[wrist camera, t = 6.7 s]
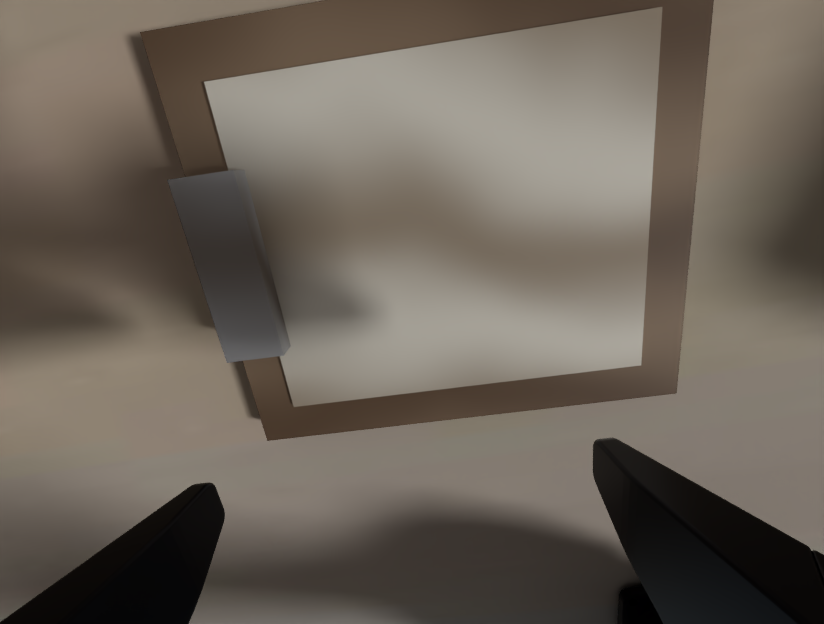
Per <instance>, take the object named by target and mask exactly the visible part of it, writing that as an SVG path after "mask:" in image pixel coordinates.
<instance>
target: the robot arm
mask: <svg viewBox="0 0 824 624" xmlns="http://www.w3.org/2000/svg"><path fill="white" fill-rule="evenodd" d="M593 475H594V479H595V482H596V485H597V487H598V490H599V492H600V494H601V497H602V499H603V501H604V504H605V506H606V508H607V511H608V513H609V516H610V518H611V520H612V523H613V525H614V527H615V530H616V532H617V534H618V537H619V539H620V542H621V544H622V546H623V548H624V550H625V553H626V555H627V557H628V559H629V561H630V563H631V564H632V566H633V568H634V570H635V572H636V574H637V576H638V577H639V579H640V581H641V583H642V585H643V586H638V587H629V588H625V589H623V590H622V591H621V592H620V594H619V604H618V624H824V555H823V554H821V553H819V552H818V551H815V550H813V551H811V549H810V548H809V547H808V546H807V545H805V544H803V543H801V542H799V541H798V540H796V539H794V538H792V537H791V536H789V535H787V534H785V533H783V532H782V531H780V530H778V529H776V528H775V527H773V526H771V525H769V524H767V523H766V522H764V521H762V520H760V519H758V518H757V517H755V516H753V515H751V514H750V513H748V512H746V511H744V510H742V509H741V508H739V507H737V506H735V505H734V504H732V503H730V502H728V501H726V500H725V499H723V498H721V497H719V496H717V495H716V494H714V493H712V492H710V491H709V490H707V489H705V488H703V487H701V486H700V485H698V484H696V483H694V482H693V481H691V480H689V479H687V478H685V477H684V476H682V475H680V474H678V473H676V472H675V471H673V470H671V469H669V468H668V467H666V466H664V465H662V464H660V463H659V462H657V461H655V460H653V459H652V458H650V457H648V456H646V455H644V454H643V453H641V452H639V451H637V450H635V449H634V448H632V447H630V446H628V445H627V444H625V443H623V442H621V441H619V440H618V439H615V438H606V439H597V440H596V441H595V442H594V444H593ZM224 518H225V512H224V508H223V505H222V503H221V500H220V497H219V495H218V492H217V490H216V487H215V485H214V484H212V483H200V484H194V485H192V486H190V487H189V488H187V489H186V490H185V491H183V492H182V493H180V494H179V495H178V496H176V497H175V498H173V499H172V500H171V501H169V502H168V503H166V504H165V505H164V506H162V507H161V508H159V509H158V510H157V511H155V512H154V513H152V514H151V515H150V516H148V517H147V518H145V519H144V520H143V521H141V522H140V523H138V524H137V525H136V526H134V527H133V528H131V529H130V530H129V531H127V532H126V533H124V534H123V535H122V536H120V537H119V538H117V539H116V540H115V541H113V542H112V543H110V544H109V545H108V546H106V547H105V548H103V549H102V550H101V551H99V552H98V553H96V554H95V555H94V556H92V557H91V558H89V559H88V560H87V561H85V562H84V563H82V564H81V565H80V566H78V567H77V568H75V569H74V570H73V571H71V572H70V573H68V574H67V575H66V576H64V577H63V578H61V579H60V580H58V581H57V582H56V583H54V584H53V585H51V586H50V587H49V588H47V589H46V590H44V591H43V592H42V593H40V594H39V595H37V596H36V597H35V598H33V599H32V600H30V601H29V602H28V603H26V604H25V605H23V606H22V607H21V608H19V609H18V610H16V611H15V612H14V613H12V614H11V615H9V616H8V617H7V618H5V619H4V620H2V621H1V622H0V624H189V621H190V619H191V616H192V614H193V612H194V609H195V607H196V604H197V602H198V599H199V597H200V594H201V591H202V588H203V585H204V583H205V579H206V576H207V573H208V570H209V567H210V564H211V561H212V558H213V554H214V551H215V548H216V545H217V542H218V539H219V536H220V533H221V529H222V526H223V523H224Z"/></svg>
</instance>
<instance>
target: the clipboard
mask: <svg viewBox="0 0 824 624" xmlns="http://www.w3.org/2000/svg"><path fill="white" fill-rule="evenodd" d="M713 2H714V0H325V1H319V2H313V3H308V4H302V5H296V6H290V7H284V8H279V9H273V10H267V11H261V12H255V13H249V14H244V15H238V16H232V17H226V18H220V19H215V20H209V21H203V22H197V23H191V24H185V25H180V26H174V27H168V28H162V29H156V30H151V31H145V32H140V33H141V37H142V40H143V43H144V46H145V50H146V53H147V56H148V59H149V62H150V66H151V69H152V72H153V75H154V78H155V82H156V85H157V88H158V91H159V94H160V98H161V101H162V104H163V107H164V110H165V114H166V117H167V120H168V123H169V126H170V130H171V133H172V136H173V139H174V143H175V146H176V149H177V152H178V155H179V159H180V162H181V165H182V168H183V171H184V175H185V177H183V178H176V179H170V180H167V181H168V184H169V187H170V190H171V193H172V196H173V199H174V202H175V205H176V208H177V211H178V214H179V217H180V220H181V223H182V227H183V230H184V233H185V236H186V239H187V242H188V245H189V248H190V251H191V254H192V257H193V260H194V263H195V266H196V269H197V272H198V276H199V279H200V282H201V285H202V288H203V291H204V294H205V297H206V300H207V303H208V306H209V309H210V312H211V315H212V318H213V321H214V324H215V328H216V331H217V334H218V337H219V340H220V343H221V346H222V349H223V352H224V355H225V358H226V361H227V363H229V362H237V361H243V364H244V367H245V370H246V373H247V377H248V380H249V383H250V386H251V389H252V393H253V396H254V399H255V402H256V406H257V409H258V412H259V415H260V418H261V422H262V425H263V428H264V431H265V434H266V438H267V441H269V440H278V439H287V438H295V437H304V436H313V435H321V434H330V433H338V432H347V431H356V430H364V429H373V428H382V427H390V426H399V425H407V424H416V423H425V422H433V421H442V420H451V419H459V418H468V417H476V416H485V415H494V414H502V413H511V412H520V411H528V410H537V409H546V408H554V407H563V406H571V405H580V404H589V403H597V402H606V401H615V400H623V399H632V398H640V397H649V396H658V395H666V394H675V393H677V382H678V372H679V361H680V351H681V340H682V330H683V319H684V309H685V298H686V287H687V277H688V266H689V256H690V245H691V235H692V224H693V213H694V203H695V192H696V182H697V171H698V161H699V150H700V139H701V129H702V118H703V108H704V97H705V87H706V76H707V65H708V55H709V44H710V34H711V23H712V13H713Z"/></svg>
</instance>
